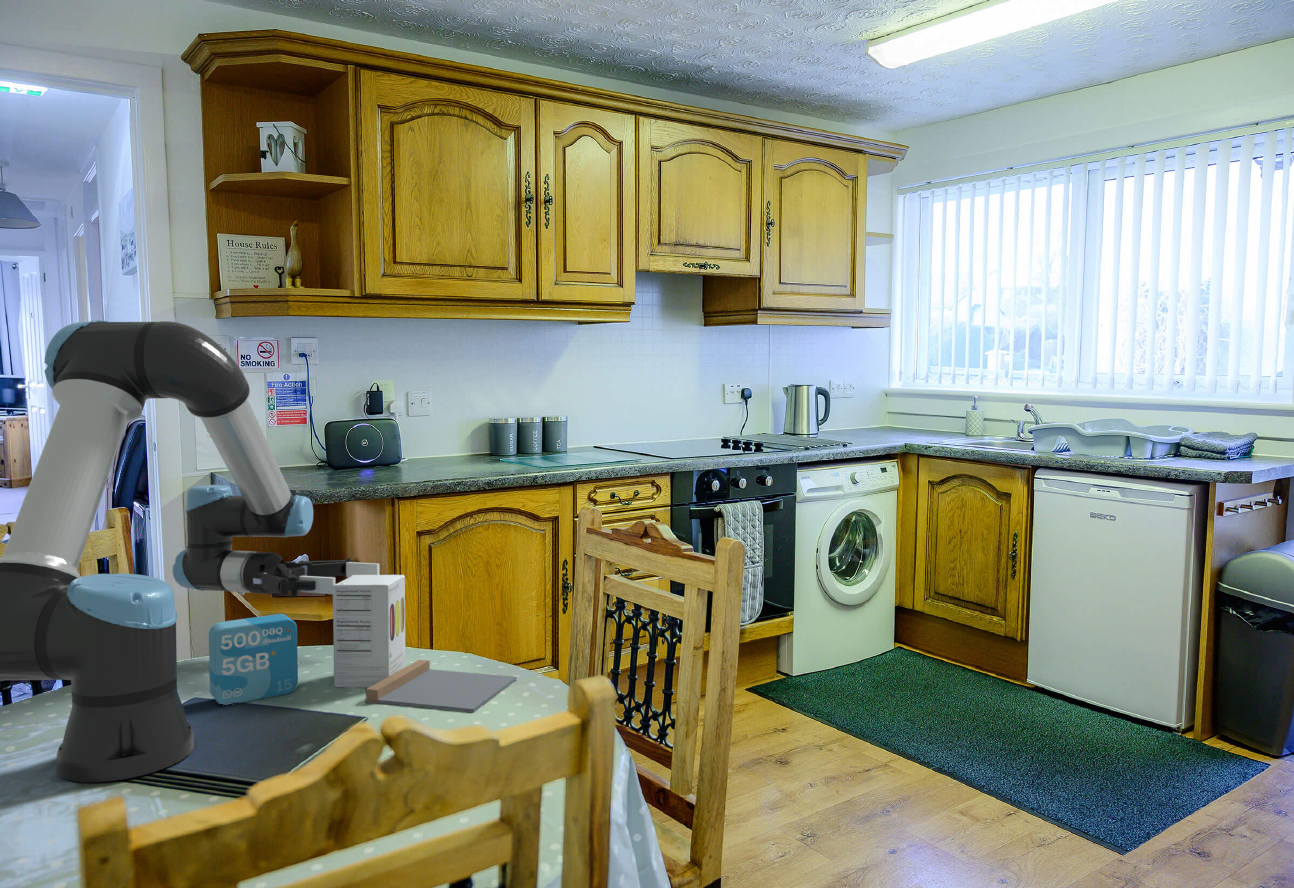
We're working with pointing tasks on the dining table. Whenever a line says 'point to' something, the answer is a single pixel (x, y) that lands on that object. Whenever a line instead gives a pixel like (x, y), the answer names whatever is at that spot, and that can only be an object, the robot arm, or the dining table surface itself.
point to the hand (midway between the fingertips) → (357, 578)
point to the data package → (253, 658)
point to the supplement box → (368, 629)
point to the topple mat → (437, 688)
